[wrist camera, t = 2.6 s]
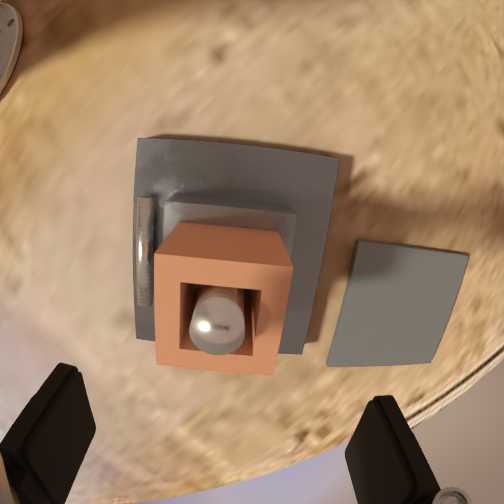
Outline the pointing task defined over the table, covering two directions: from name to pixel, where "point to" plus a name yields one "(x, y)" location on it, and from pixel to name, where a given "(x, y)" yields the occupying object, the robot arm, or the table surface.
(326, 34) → the table surface
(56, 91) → the table surface
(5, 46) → the robot arm
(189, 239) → the collar
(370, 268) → the mat
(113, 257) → the table surface
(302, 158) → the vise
